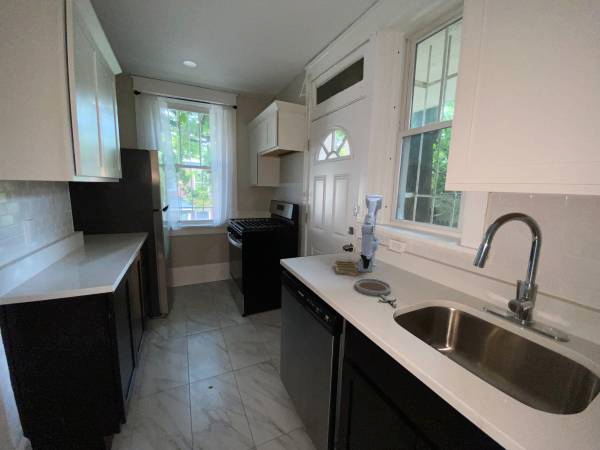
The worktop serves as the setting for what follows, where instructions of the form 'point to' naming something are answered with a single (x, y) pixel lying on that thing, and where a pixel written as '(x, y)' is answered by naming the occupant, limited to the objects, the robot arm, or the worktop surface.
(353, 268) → the rack
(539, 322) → the worktop surface
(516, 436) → the worktop surface
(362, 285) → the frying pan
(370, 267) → the upright pale blue slab
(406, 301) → the worktop surface
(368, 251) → the robot arm
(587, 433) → the worktop surface
